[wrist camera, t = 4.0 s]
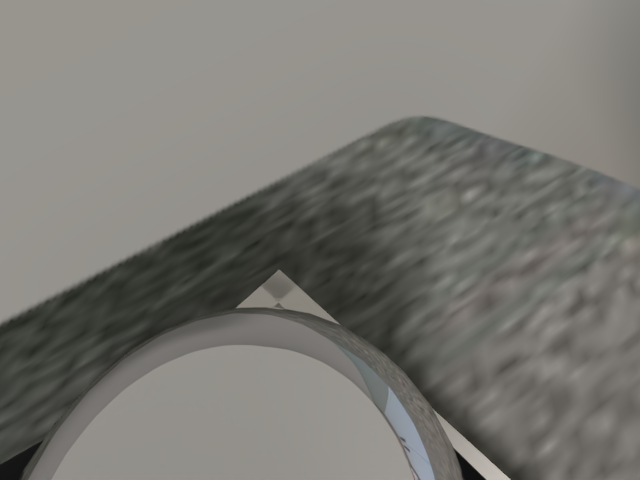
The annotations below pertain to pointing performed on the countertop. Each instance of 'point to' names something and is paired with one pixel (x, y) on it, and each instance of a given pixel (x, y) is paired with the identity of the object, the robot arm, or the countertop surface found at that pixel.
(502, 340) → the countertop surface
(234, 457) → the light bulb
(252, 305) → the white tray
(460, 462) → the robot arm
